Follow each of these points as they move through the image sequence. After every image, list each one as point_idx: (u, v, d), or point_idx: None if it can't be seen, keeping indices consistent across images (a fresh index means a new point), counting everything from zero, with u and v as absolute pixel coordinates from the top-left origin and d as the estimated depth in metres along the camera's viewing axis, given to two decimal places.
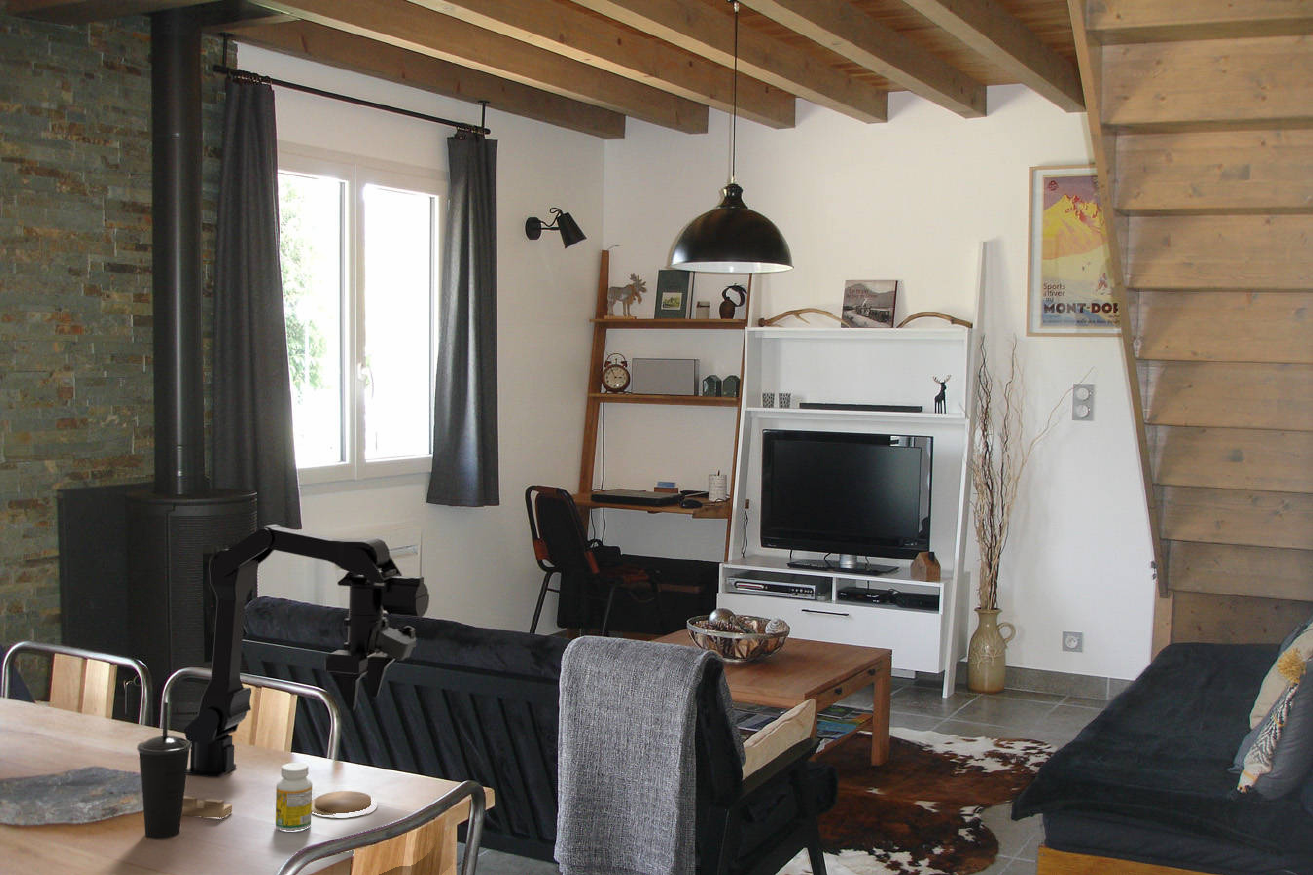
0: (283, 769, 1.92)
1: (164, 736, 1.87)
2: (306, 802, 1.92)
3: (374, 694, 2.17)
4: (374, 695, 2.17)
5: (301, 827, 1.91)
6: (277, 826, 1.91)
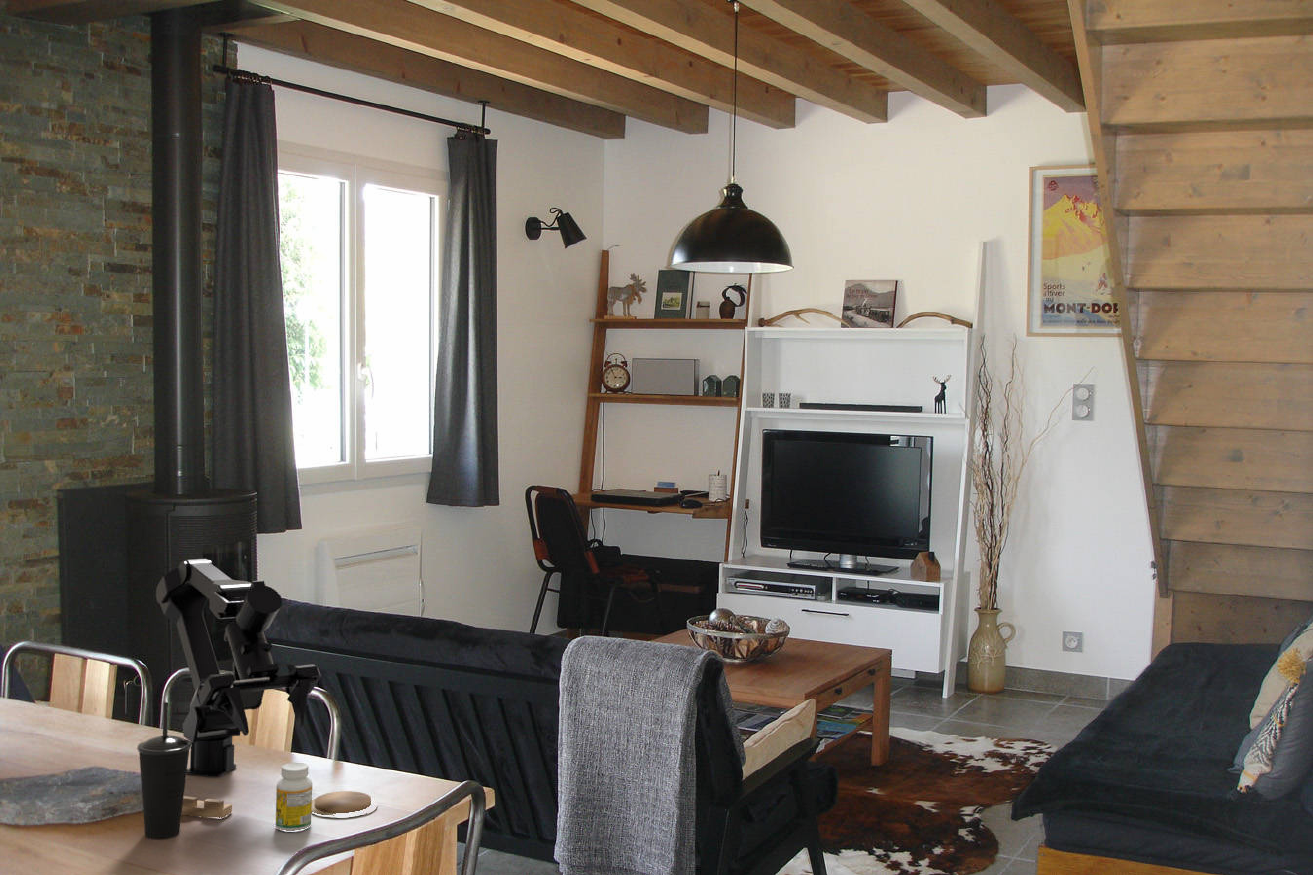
0: (283, 769, 1.92)
1: (164, 736, 1.87)
2: (306, 802, 1.92)
3: None
4: None
5: (301, 827, 1.91)
6: (277, 826, 1.91)
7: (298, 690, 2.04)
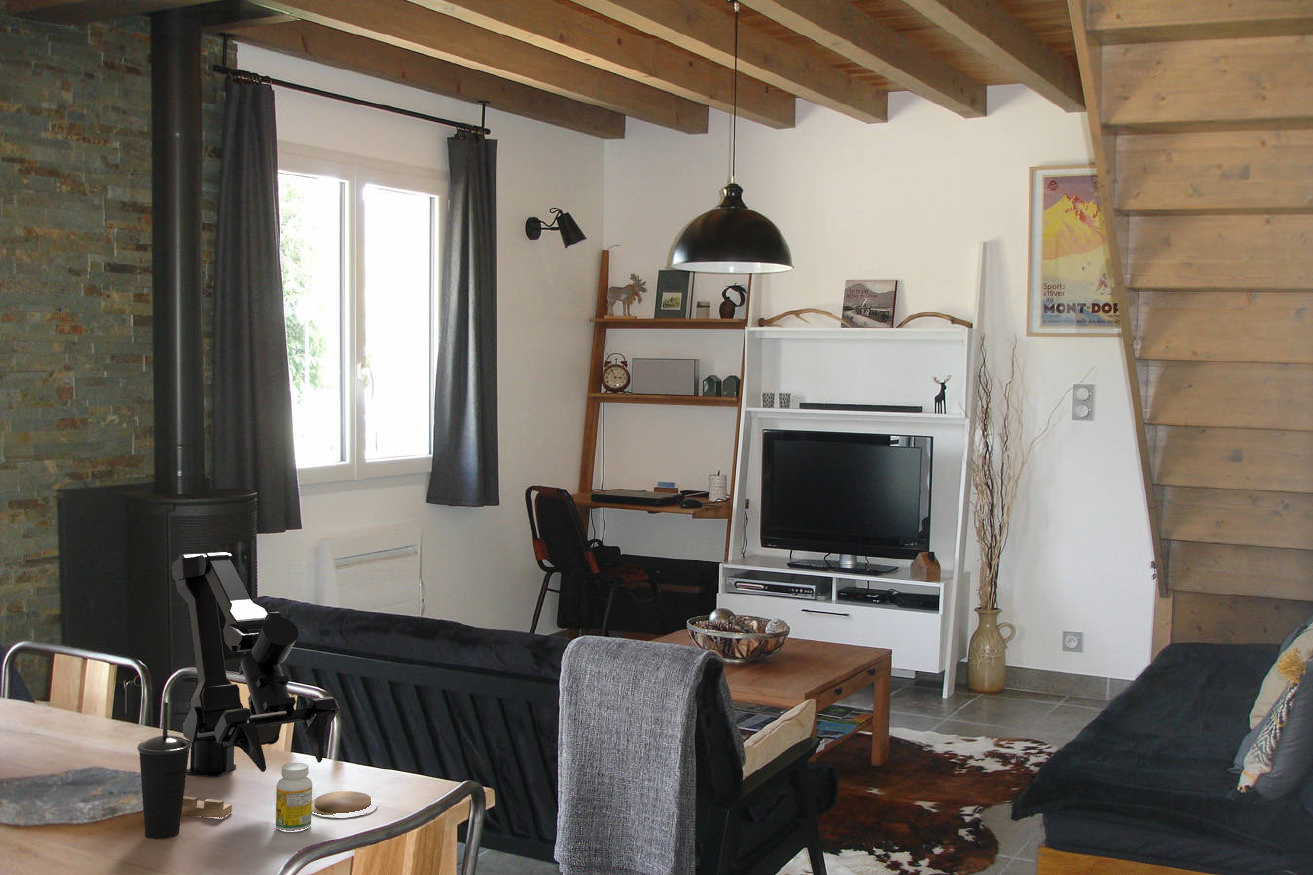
0: (283, 769, 1.92)
1: (164, 736, 1.87)
2: (306, 802, 1.92)
3: None
4: None
5: (301, 827, 1.91)
6: (277, 826, 1.91)
7: (316, 723, 1.99)
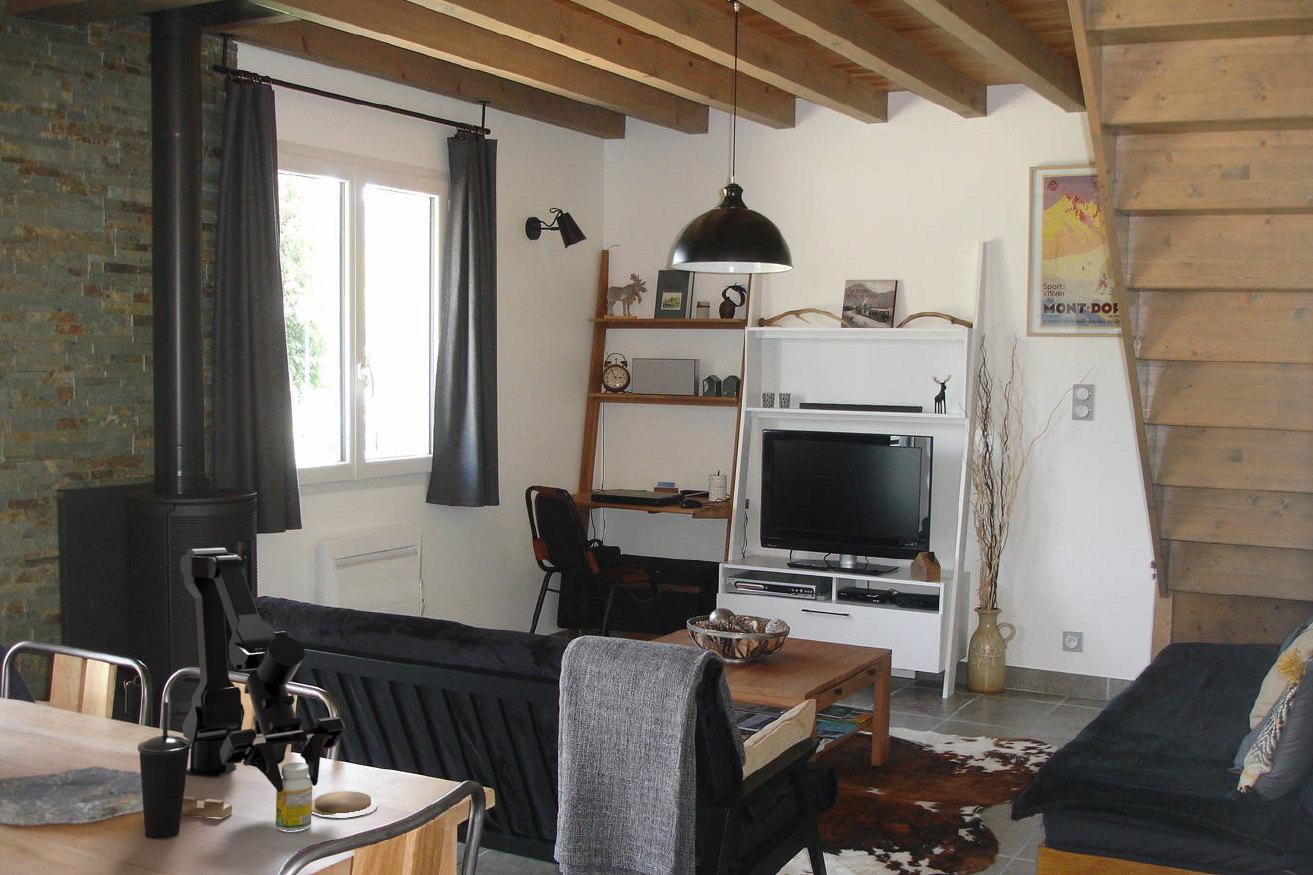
0: (283, 769, 1.92)
1: (164, 736, 1.87)
2: (306, 802, 1.92)
3: None
4: None
5: (301, 827, 1.91)
6: (277, 826, 1.91)
7: (311, 746, 1.96)
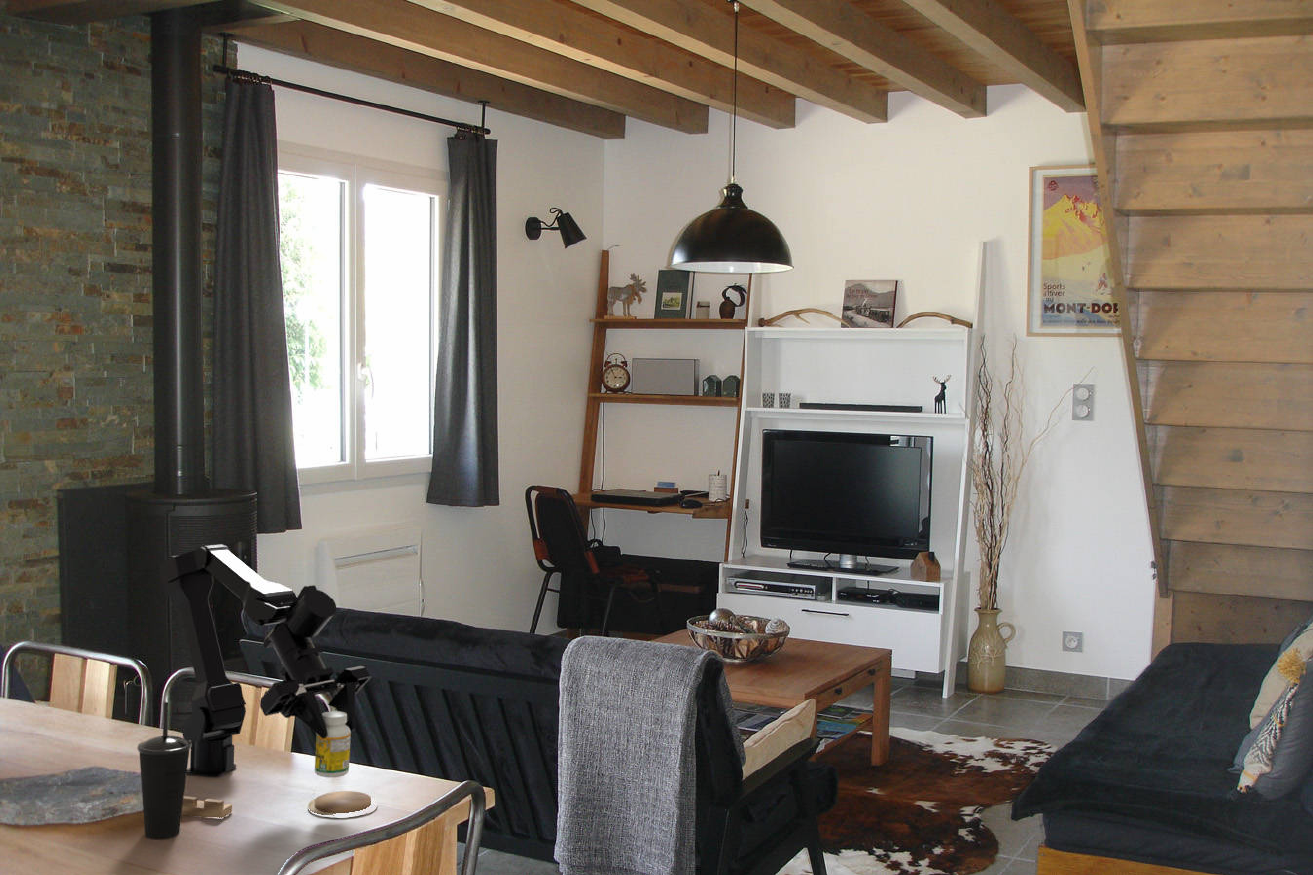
0: (325, 717, 1.98)
1: (164, 736, 1.87)
2: (347, 747, 1.99)
3: None
4: None
5: (343, 771, 1.99)
6: (319, 772, 1.98)
7: (345, 694, 2.03)
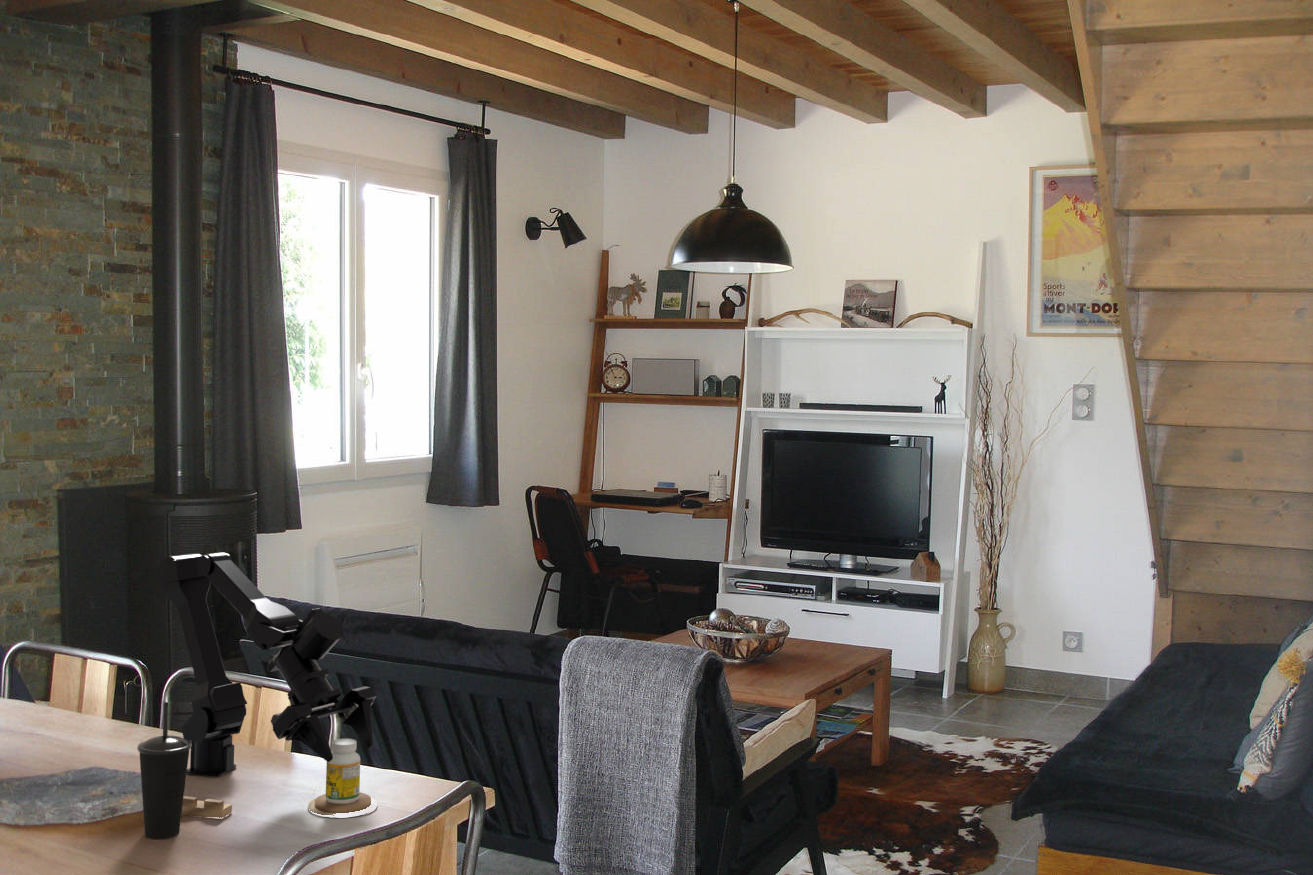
0: (335, 745, 2.01)
1: (164, 736, 1.87)
2: (358, 774, 2.03)
3: None
4: None
5: (355, 798, 2.02)
6: (331, 799, 2.01)
7: (361, 712, 2.08)
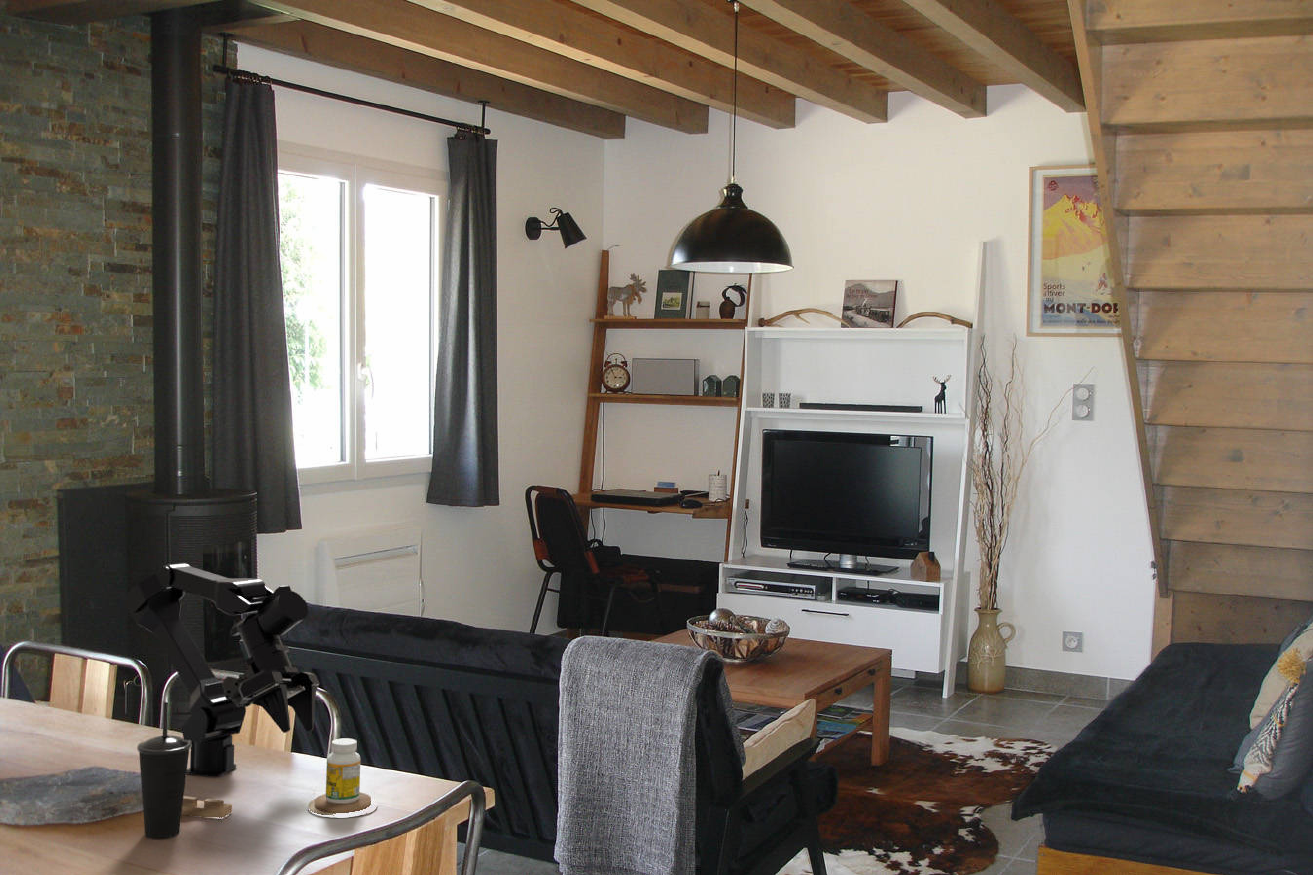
0: (336, 745, 2.01)
1: (164, 736, 1.87)
2: (358, 774, 2.03)
3: None
4: None
5: (355, 798, 2.02)
6: (331, 799, 2.01)
7: (308, 695, 2.14)
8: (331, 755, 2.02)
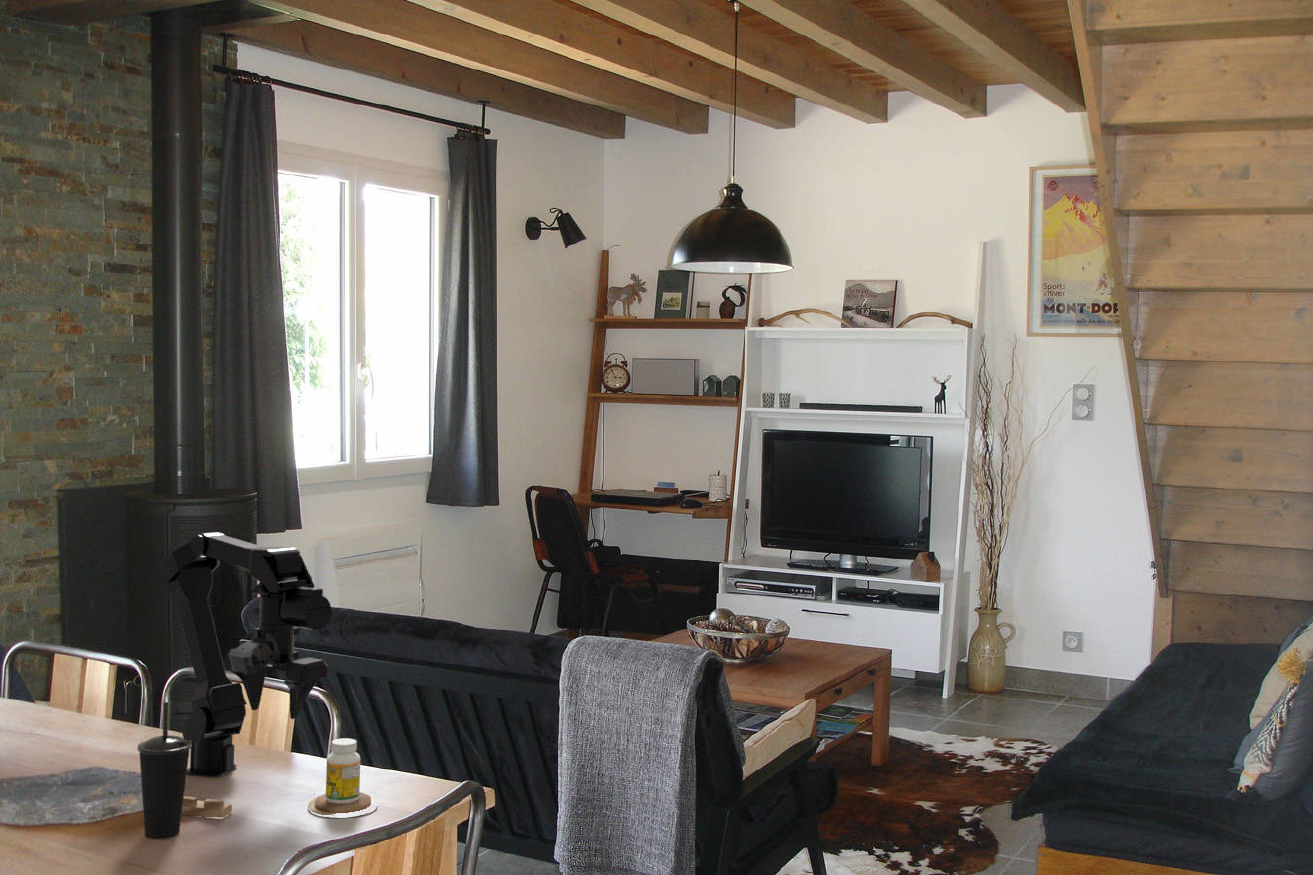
0: (336, 745, 2.01)
1: (164, 736, 1.87)
2: (358, 774, 2.03)
3: None
4: None
5: (355, 798, 2.02)
6: (331, 799, 2.01)
7: (263, 675, 2.14)
8: (331, 755, 2.02)
